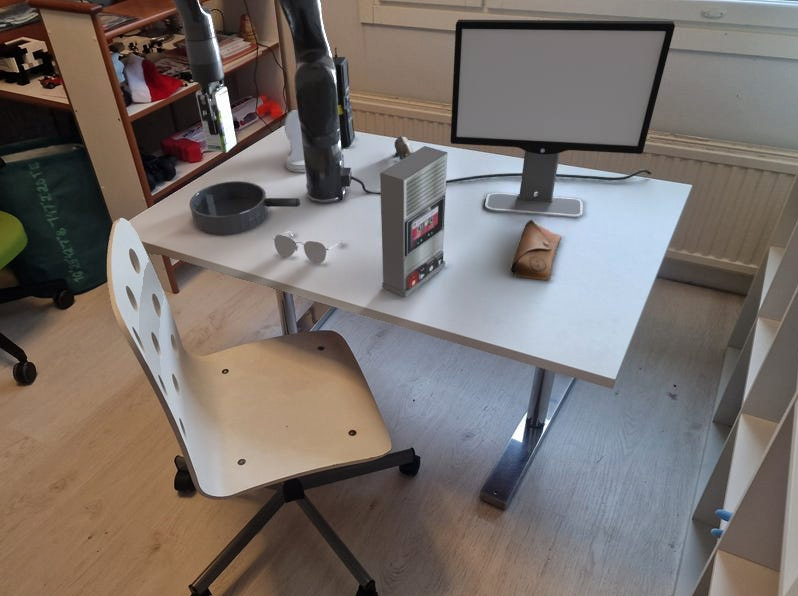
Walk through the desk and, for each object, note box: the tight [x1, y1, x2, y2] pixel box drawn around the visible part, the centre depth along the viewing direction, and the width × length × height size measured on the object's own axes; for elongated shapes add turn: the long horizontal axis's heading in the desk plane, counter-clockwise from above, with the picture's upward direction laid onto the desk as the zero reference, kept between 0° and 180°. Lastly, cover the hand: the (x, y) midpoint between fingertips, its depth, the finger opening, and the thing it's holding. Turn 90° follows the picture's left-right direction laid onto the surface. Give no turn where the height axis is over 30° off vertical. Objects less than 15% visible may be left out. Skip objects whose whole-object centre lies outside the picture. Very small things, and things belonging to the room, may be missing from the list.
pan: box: [189, 180, 269, 236], centre depth 154 cm, size 18×18×5 cm
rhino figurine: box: [394, 135, 414, 160], centre depth 170 cm, size 4×14×6 cm, turn 10°
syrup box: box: [195, 86, 237, 154], centre depth 157 cm, size 6×6×14 cm
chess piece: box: [284, 109, 306, 173], centre depth 170 cm, size 10×10×15 cm
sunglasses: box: [272, 231, 344, 265], centre depth 140 cm, size 14×8×5 cm, turn 65°
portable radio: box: [332, 47, 356, 148], centre depth 176 cm, size 8×6×25 cm
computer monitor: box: [449, 19, 676, 218], centre depth 137 cm, size 41×8×40 cm, turn 74°
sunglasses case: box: [510, 219, 563, 281], centre depth 134 cm, size 18×7×7 cm
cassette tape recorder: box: [379, 145, 448, 298], centre depth 123 cm, size 14×6×25 cm, turn 139°
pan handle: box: [264, 197, 302, 208], centre depth 151 cm, size 9×2×2 cm, turn 83°
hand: (218, 128), depth 159 cm, fingers closed on syrup box, 6 cm apart
